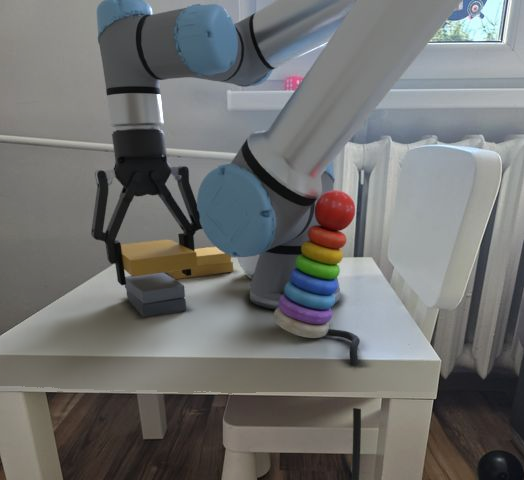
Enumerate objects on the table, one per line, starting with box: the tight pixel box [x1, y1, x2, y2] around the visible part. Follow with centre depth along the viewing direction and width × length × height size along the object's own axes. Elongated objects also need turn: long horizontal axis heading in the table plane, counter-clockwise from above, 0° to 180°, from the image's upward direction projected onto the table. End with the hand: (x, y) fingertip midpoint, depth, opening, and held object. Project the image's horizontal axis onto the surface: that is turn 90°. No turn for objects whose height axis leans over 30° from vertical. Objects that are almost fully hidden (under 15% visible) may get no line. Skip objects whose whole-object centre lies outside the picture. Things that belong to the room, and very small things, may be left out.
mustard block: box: [121, 238, 197, 277], centre depth 79 cm, size 14×10×2 cm
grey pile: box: [124, 272, 187, 318], centre depth 82 cm, size 11×7×4 cm, turn 27°
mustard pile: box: [165, 246, 234, 280], centre depth 102 cm, size 13×8×4 cm, turn 117°
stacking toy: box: [273, 189, 356, 339], centre depth 65 cm, size 8×8×19 cm
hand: (155, 278), depth 81 cm, fingers closed on mustard block, 10 cm apart
